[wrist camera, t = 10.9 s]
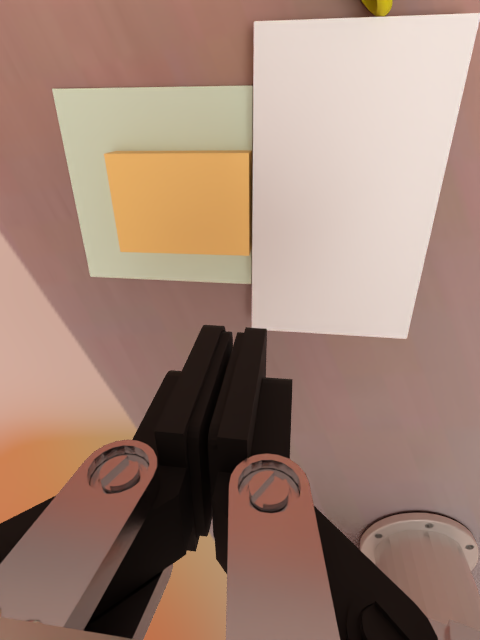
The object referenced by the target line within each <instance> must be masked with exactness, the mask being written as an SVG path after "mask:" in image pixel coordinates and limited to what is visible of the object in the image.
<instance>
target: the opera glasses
mask: <svg viewBox="0 0 480 640" xmlns="http://www.w3.org/2000/svg"><path fill="white" fill-rule="evenodd" d="M361 1H362V2H363V4H364V5H365V6H366V8H367V9H368V10H369V11H370V12H371V13H372V14H373V15H375V16H376V17H384V16H386V15H387V14H388V13H389V11H390V9H391V7H392V0H361Z"/></svg>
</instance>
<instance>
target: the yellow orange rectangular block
mask: <svg viewBox="0 0 480 640" xmlns="http://www.w3.org/2000/svg"><path fill="white" fill-rule="evenodd" d="M104 158H105V164H106V170H107V175H108V181H109V187H110V193H111V199H112V205H113V211H114V217H115V223H116V229H117V235H118V241H119V247H120V252H138V253H172V254H205V255H239V256H249V255H250V252H251V249H252V150H204V151H113V152H109V153H105V154H104Z"/></svg>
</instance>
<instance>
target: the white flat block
mask: <svg viewBox="0 0 480 640" xmlns="http://www.w3.org/2000/svg"><path fill="white" fill-rule="evenodd" d="M479 20H480V13H468V14H441V15H414V16H387V17H360V18H332V19H305V20H278V21H254V77H253V214H252V328H264V329H267V330H271V331H287V332H303V333H320V334H336V335H352V336H369V337H385V338H401V339H407V335H408V330H409V326H410V322H411V317H412V313H413V309H414V304H415V300H416V295H417V291H418V287H419V282H420V278H421V274H422V269H423V265H424V260H425V256H426V252H427V247H428V243H429V239H430V234H431V230H432V225H433V221H434V217H435V212H436V208H437V204H438V199H439V195H440V190H441V186H442V182H443V177H444V173H445V169H446V164H447V160H448V156H449V151H450V147H451V142H452V138H453V134H454V129H455V125H456V121H457V116H458V112H459V107H460V103H461V99H462V94H463V90H464V86H465V81H466V77H467V72H468V68H469V64H470V59H471V55H472V51H473V46H474V42H475V37H476V33H477V29H478V24H479Z"/></svg>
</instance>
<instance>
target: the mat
mask: <svg viewBox="0 0 480 640" xmlns="http://www.w3.org/2000/svg"><path fill="white" fill-rule="evenodd" d="M52 91H53V96H54V101H55V106H56V111H57V116H58V121H59V125H60V130H61V135H62V140H63V145H64V150H65V155H66V160H67V165H68V169H69V174H70V179H71V184H72V189H73V194H74V199H75V204H76V209H77V213H78V218H79V223H80V228H81V233H82V238H83V243H84V248H85V253H86V257H87V262H88V267H89V272H90V277H108V278H129V279H151V280H172V281H193V282H215V283H236V284H251V283H252V249H251V252H250V255H249V256H239V255H205V254H172V253H138V252H120V247H119V241H118V235H117V229H116V223H115V217H114V211H113V205H112V199H111V193H110V187H109V181H108V175H107V170H106V164H105V158H104V154H105V153H109V152H113V151H204V150H253V86H194V87H133V88H72V89H52Z"/></svg>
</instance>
